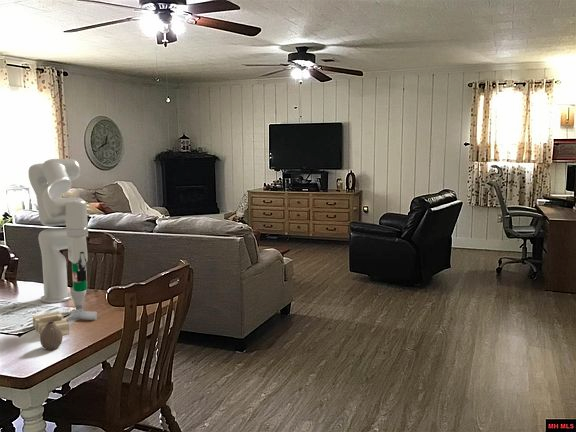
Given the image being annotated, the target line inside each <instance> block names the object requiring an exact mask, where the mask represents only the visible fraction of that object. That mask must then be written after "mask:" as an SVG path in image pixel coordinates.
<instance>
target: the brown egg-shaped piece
mask: <svg viewBox="0 0 576 432" xmlns="http://www.w3.org/2000/svg"><path fill="white" fill-rule="evenodd" d="M63 336H64V335H62V332H61V330H60V328H59V327H58V326H56V324H55V323H54V322H48V323H47V324H46V326H45V328H44V329H43V330H42V332H41V335H39V341H40V345H41V347H42V348H43V349H44V350H47V351H54V350H56V349H58V348H60V346H61V345H62V343H63Z"/></svg>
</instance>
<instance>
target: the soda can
mask: <svg viewBox="0 0 576 432" xmlns="http://www.w3.org/2000/svg"><path fill="white" fill-rule="evenodd" d="M78 263H81V261H78ZM80 265H81V264H79V267H80ZM77 271H78V270H77V263H76V264H74V263H72V262H71V272H72V273H71V275H72V287H73V290H74V291H76V292H81V291H85V290H86V291H87V289H88V275H87V272H88V271H87V270H86V281H80V282H78V281H77Z"/></svg>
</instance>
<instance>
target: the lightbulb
mask: <svg viewBox="0 0 576 432" xmlns="http://www.w3.org/2000/svg"><path fill="white" fill-rule="evenodd" d="M69 293H70V294H71V296H72V298H71V299H73V302H74V305H75V310H77V309H84V307H83V305H84V298H85V296H86V295H87V289H86V290H85V291H81V292H76V291H74V290H73V286H72V287H71V289H70V292H69Z"/></svg>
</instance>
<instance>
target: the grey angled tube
mask: <svg viewBox="0 0 576 432" xmlns="http://www.w3.org/2000/svg"><path fill="white" fill-rule="evenodd" d="M65 320H66V321H67V322H68V323H69V326H71V325H72V324H74V322H77V321H78V320H85V321H86V320H87V321H97V320H98V311H90V310H89V311H88V310H85V309H84V308H82V309H77V310H76V309H73V310H69V315H67V316H66V317H65Z"/></svg>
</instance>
